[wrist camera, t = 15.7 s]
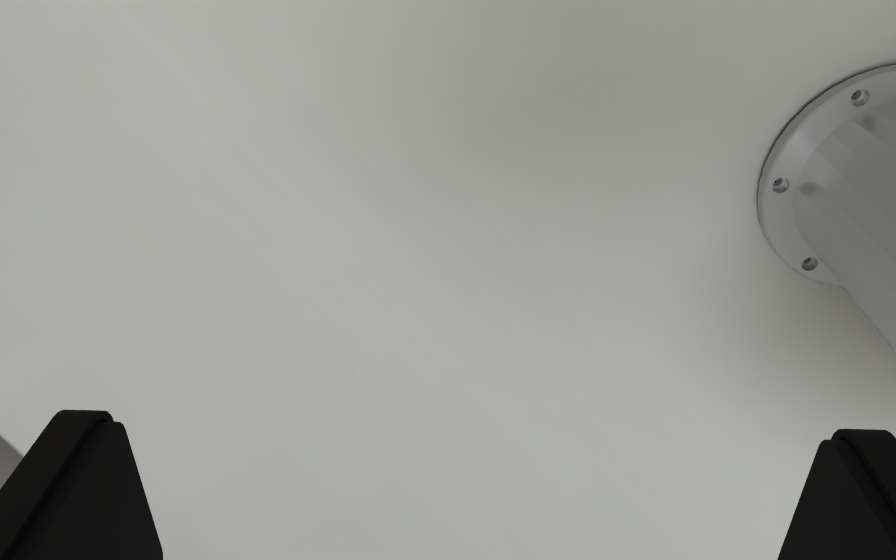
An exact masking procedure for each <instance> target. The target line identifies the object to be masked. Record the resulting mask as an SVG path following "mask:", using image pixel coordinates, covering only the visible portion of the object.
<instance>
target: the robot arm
mask: <svg viewBox="0 0 896 560" xmlns="http://www.w3.org/2000/svg"><path fill="white" fill-rule="evenodd" d="M856 91H857V93H856V94H855V95H854V96H853V97H852V95H853V94H854V93H855V92H856ZM777 179H779V180H778V181H777V182H775V181H776V180H777ZM757 205H758V213H759V220H760V224H761V226H762V229H763V231H764V234H765V237H766V239H767V240H768V242H769V243H770V245H771V246H772V248H773V249H774V251H775V252H776V253H777V255H778V256H779V257H780V258H781V259H782V260H783V261H784V262H785V263H786V264H787V265H788V266H789V267H790V268H792V269H793V270H794V271H796V272H797V273H799V274H800V275H802V276H804V277H807V278H809V279H812V280H814V281H817V282H819V283H823V284H829V285H834V286H839V287H843V288H844V289H845V291H846V292H847V293H848V294H849V295H850V297H851V298H852V299H853V300H854V302H855V303H856V304H857V305H858V307H859V308H860V309H861V310H862V311H863V313H864V314H865V315H866V316H867V318H868V319H869V320H870V321H871V323H872V324H873V325H874V326H875V327H876V329H877V330H878V331H879V332H880V334H881V335H882V336H883V337H884V338H885V340H886V341H887V342H888V343H889V345H890V346H891V347H892V348H893V350H894V351H895V352H896V65H891V66H885V67H879V68H876V69H873V70H870V71H868V72H865V73H862V74H859V75H856V76H853V77H852V78H850V79H848V80H846V81H844V82H842V83H840V84H838V85H836V86H834V87H832V88H831V89H829V90H828V91H826V92H825V93H824V94H822V95H821V96H820V97H818V98H817V99H815V100H814V101H813V102H811V103H810V104H809V105H808V106H807V107H806V108H805V109H804V110H803V111H802V112H801V113H799V114H798V115H797V116H796V117H795V118H794V119H793V120H792V121H791V122H790V124H789V125H788V126H787V128H786V129H785V130H784V132H783V133H782V134H781V136H780V137H779V139H778V140H777V141H776V143H775V145H774V147H773V149H772V150H771V152H770V154H769V156H768V158H767V160H766V162H765V165H764V168H763V172H762V175H761V178H760V182H759V189H758V200H757ZM0 560H163V552H162V547H161V544H160V541H159V538H158V534H157V531H156V528H155V525H154V521H153V518H152V515H151V511H150V508H149V505H148V502H147V498H146V495H145V492H144V489H143V485H142V482H141V479H140V476H139V472H138V469H137V466H136V462H135V459H134V456H133V453H132V449H131V446H130V443H129V440H128V436H127V433H126V430H125V427H124V425H123V424H122V423H121V422H114V420H113V418H112V416H111V414H109V413H108V412H107V411H94V410H62V411H60V412H58V413H57V414H56V415H55V416H54V417H53V418H52V419H51V421H50V422H49V424H48V425H47V426H46V428H45V429H44V430H43V432H42V433H41V434H40V436H39V437H38V439H37V440H36V441H35V443H34V444H33V445H32V447H31V448H30V450H29V451H28V452H27V454H26V455H25V456H24V458H23V459H22V461H21V462H20V463H19V465H18V466H17V467H16V469H15V470H14V472H13V473H12V475H11V476H10V477H9V478H8V480H7V481H6V482H5V484H4V485H3V487H2V488H1V489H0ZM777 560H896V438H895V437H894V436H893V435H892V434H891V433H890V432H888V431H886V430H864V429H839V430H837V431H836V432H835V433H834V434H833V436H832V438H831V440H823V441H822V442H821V443H820V445H819V447H818V450H817V453H816V455H815V458H814V461H813V464H812V466H811V469H810V472H809V475H808V477H807V480H806V483H805V485H804V488H803V491H802V494H801V496H800V499H799V502H798V505H797V507H796V510H795V513H794V516H793V518H792V521H791V524H790V527H789V529H788V532H787V535H786V537H785V540H784V543H783V546H782V548H781V551H780V554H779V557H778V559H777Z"/></svg>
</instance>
